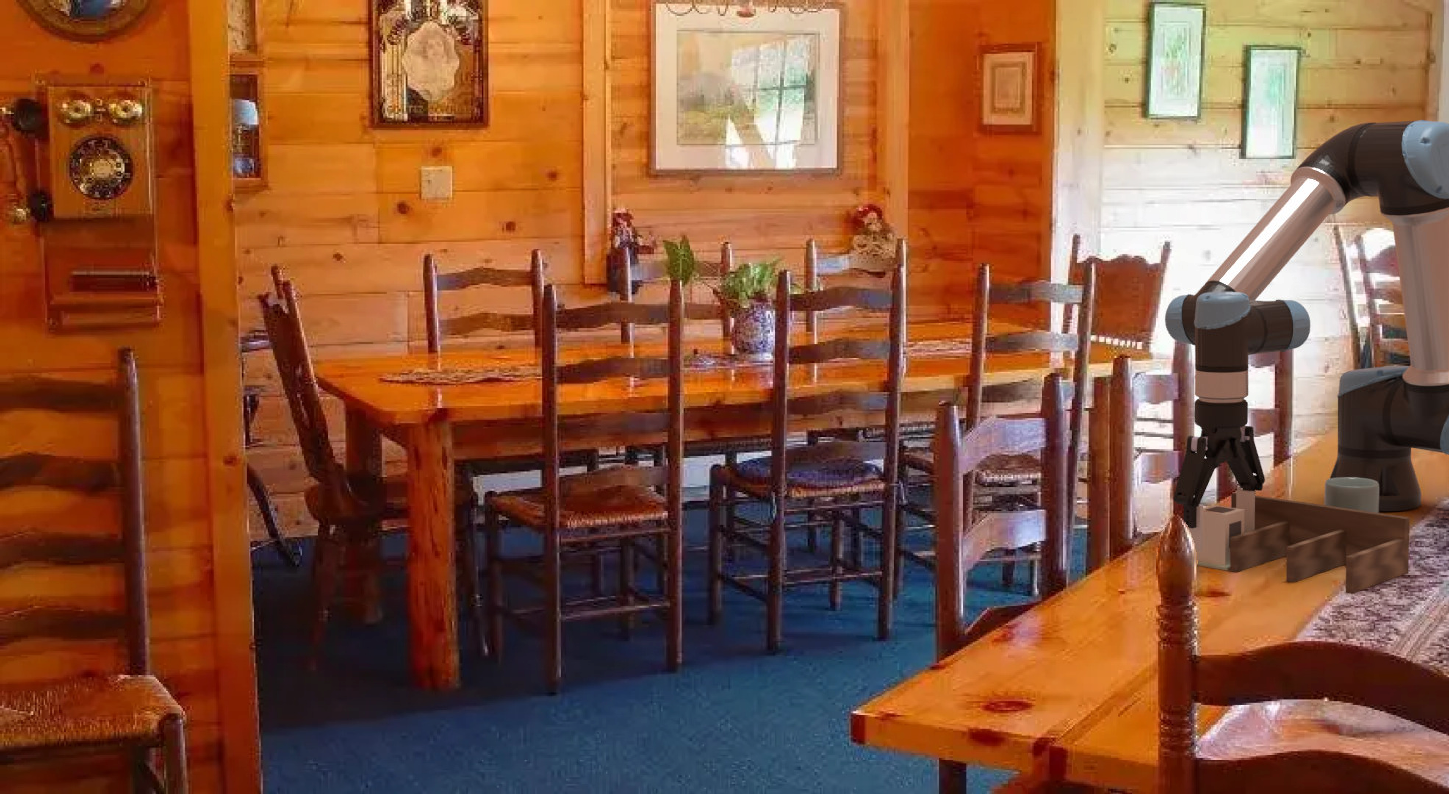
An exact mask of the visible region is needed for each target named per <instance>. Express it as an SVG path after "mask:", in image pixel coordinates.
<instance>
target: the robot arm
mask: <svg viewBox="0 0 1449 794" xmlns="http://www.w3.org/2000/svg"><path fill="white" fill-rule="evenodd" d="M1362 197H1370V198H1371V197H1373V198H1374V197H1375V198H1376V197H1377V199H1378V203H1379V211H1380V215H1382V216H1383V217H1385V218H1386V219H1388V220H1389V221H1390V222H1391V223H1392V231H1393V236H1394V246H1395V253H1396V261H1397V268H1398V275H1399V281H1400V291H1401V298H1402V306H1403V307H1402V308H1403V315H1404V321H1405V329H1406V330H1405V331H1406V336H1407V343H1408V344H1407V345H1408V352H1409V360H1410V365H1393V366H1382V367H1381V366H1380V367H1378V366H1377V367H1367V368H1359V369H1353V370H1348V371H1345V372H1344V373H1342V374H1341V376H1340V378H1339V383H1338V384H1339V386H1338V393H1337V395H1336V397H1337V457H1336V460H1335V463H1334V465H1333V469H1332V471H1331V473H1330V477H1329V479H1330V478H1339V477H1355V478H1367V479H1372V480H1375V481H1377V482H1378V483H1379V512H1398V511H1399V512H1400V511H1407V510H1414V509H1418V508H1419V507H1421V505H1422V491H1421V488H1420V484H1419V480H1418V477H1417V474H1416V471H1415V468H1414V465H1413V461H1412V449H1416V450H1423V451H1424V450H1425V451H1429V452H1436V453H1442V454H1444V455H1449V123H1448V122H1444V121H1431V120H1426V119H1425V120H1424V119H1420V120H1406V121H1404V120H1403V121H1388V122H1362V123H1359V124H1355V125H1352V126H1350V127H1348V128H1346V129H1344V130H1342V131H1340V132H1339V133H1337V134H1335V135H1333V136H1331V137H1330V138H1328V139H1327V140H1326V141H1325V142H1323V143H1321V144H1320V146H1318V147H1317V148H1316V149H1315V150H1313V151H1312V152H1311V153H1310V154H1309V155H1308V156H1307V157H1305V159H1304V160H1303V161H1302V162H1301V163H1300V164H1299V165H1298V167H1297V168H1296V169H1295V170H1294V171H1293V172H1292V174H1291V176H1290V185H1289V186H1288V187H1287V189H1286V190H1285V191H1284V192H1283V193H1282V194H1281V196H1279V198H1278V199H1277V200H1276V201H1275V203H1273V205H1272V206H1271V207H1270V208H1269V209H1268V210H1267V212H1266V213H1265V214H1264V215H1263V216H1262V217H1261V219H1260V220H1259V221H1258V222H1257V223H1256V224H1255V226H1254V227H1253V228H1252V229H1251V230H1250V231H1249V232H1248V233H1247V235H1246V236H1245V237H1244V238H1243V239H1242V241H1240V243H1239V244H1238V245H1237V246H1236V247H1235V248H1234V250H1233V251H1232V252H1231V253H1230V254H1229V255H1228V256H1227V257H1226V259H1225V260H1224V261H1223V262H1222V263H1221V265H1220V266H1219V267H1218V268H1217V269H1216V270H1215V272H1214V273H1213V274H1212V275H1211V276H1210V277H1209V278H1208V280H1206V282H1205V283H1204V284H1203V285H1202V286H1201V287H1200V289H1199V290H1197V292H1196V293H1195V294H1189V293H1188V294H1184V295H1179V296H1177V297H1174V298H1173V299H1172V300H1171V301H1170V302H1169V304H1168V306H1167V308H1166V311H1165V317H1164V322H1165V323H1164V324H1165V328H1166V330H1167V332H1168V334H1169V336H1170V337H1171V338H1172V339H1173V340H1174V341H1177V342H1179V343H1183V344H1188V345H1193V346H1194V361H1195V362H1194V370H1195V371H1194V372H1195V375H1194V395H1195V396H1196V397H1198V399H1196V400H1195V401H1194V403H1193V405H1194V410H1193V411H1194V417H1193V420H1194V424H1195V425H1196V426H1198V427H1200V429H1201V431H1200V432H1201V433H1200V436H1193V435H1189V436H1188V437H1187V438H1186V439H1187V440H1186V448H1185V449H1186V452H1185V456H1184V459H1183V462H1182V466H1181V468H1180V469H1181V470H1180V473H1179V477H1178V480H1177V485H1176V487H1175V491H1174V495H1173V501H1174V503H1176V504H1177V505H1182V506H1183V522H1184V521H1185V522H1186V524H1187V525H1188V527H1189V530H1190V532H1191V534H1192V538H1193V540H1194V543H1195V549H1196V550H1198V551H1201V550H1203V508H1204V505H1201V501H1202V499H1203V497H1204V494H1205V493H1206V491H1207V487H1208V486H1209V483H1210V481H1211V480H1212V479H1211V478H1212V477H1213V474H1214V471H1215V470H1217V469H1218V468H1219V467H1220V465H1221V464H1224V463H1225V462H1226V463H1227V465H1228V467H1229V469H1230V471H1231V473H1232V475H1233V476H1234V478H1235V481H1236V482H1237V484H1238V486H1239V489H1236V491H1235V493H1236V508H1237V509H1244V510H1245V512H1244V533H1247V532H1250V531H1253V530H1255V495H1256V491H1263V488H1264V484H1265V482H1266V479H1265V478H1266V477H1265V474H1264V471H1263V470H1264V469H1263V467H1262V464H1261V460H1260V457H1259V453H1258V450H1257V446H1256V443H1255V442H1256V441H1255V435H1254V433H1255V432H1254V430H1255V429H1254V427H1253V426H1251V425H1248V423H1249V422H1248V421H1249V416H1248V415H1249V403H1248V401H1247V400H1246V399H1245V398H1247V397H1248V396H1249V356H1251V355H1257V354H1258V355H1259V354H1268V353H1269V354H1270V353H1278V352H1280V353H1284V352H1286V351H1290V350H1294V349H1295V350H1296V349H1297V348H1300V347H1301V346H1303V345H1304V344H1305V343H1306V342H1307V340H1308V338H1309V336H1310V333H1311V319H1310V318H1311V317H1310V315H1309V312H1308V311H1307V309H1306V308H1305V306H1304V305H1302V304H1301V303H1300V302H1298V301H1296V300H1293V299H1275V300H1272V301H1271V300H1257V299H1258V298H1259V297H1260V295H1261V294H1262V293H1263V292H1264V290H1266V288H1267V287H1268V286H1269V285H1270V284H1271V282H1272V281H1273V280H1274V279H1275V278H1276V277H1277V276H1278V274H1279V273H1280V272H1281V271H1282V269H1284V268H1285V266H1286V265H1287V264H1288V262H1289V261H1290V260H1292V258H1293V257H1294V256H1295V255H1296V253H1298V251H1299V250H1300V249H1301V247H1302V246H1303V245H1304V244H1305V243H1306V242H1307V241H1308V240H1309V238H1310V237H1311V236H1312V235H1313V234H1314V232H1315V231H1316V230H1317V229H1318V228H1319V227H1320V225H1321V224H1322V223H1323V222H1324V221H1325V220H1326V219H1327V217H1328V216H1329V215H1335V214H1339V212H1341V211H1342V210H1343V209H1344V207H1345V206H1346V205H1347V204H1348V203H1350V202H1352V201H1353V200H1356V199H1358V198H1359V199H1360V198H1362Z"/></svg>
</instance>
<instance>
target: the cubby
mask: <svg viewBox="0 0 1449 794" xmlns="http://www.w3.org/2000/svg"><path fill="white" fill-rule="evenodd" d="M1230 497H1231V499H1230V502H1231V503H1230V505H1231V508H1236V492H1233V493H1231V494H1230ZM1410 520H1411V519H1410V517H1409V516H1408V517H1407V516H1402V515H1394V514H1389V513H1381V512H1379V513H1375V512H1368V511H1361V510H1354V509H1347V508H1340V507H1333V506H1326V505H1324V504H1317V503H1313V502H1312V503H1311V502H1304V501H1298V500H1297V501H1296V500H1290V499H1282V498H1276V497H1270V496H1263V495H1256V494H1255V530H1253V531H1250V532H1247V533H1243V534H1240V535H1237V536H1233V537H1231V539H1230V570H1229V572H1232V571H1233V573H1238V572H1237V571H1239V572H1241V571H1245V570H1247V568H1248V569H1250V568H1253V566H1254V567H1256V566H1260V565H1262V564H1261V563H1263V564H1266V563H1269V562H1272V561H1274V560H1278V559H1281V558H1284V557H1286V569H1285V571H1286V572H1285V574H1286V575H1285V577H1286V580H1285V581H1286V582H1288V583H1295V582H1298V581H1301V580H1304V579H1307V578H1310V577H1313V576H1316V575H1318V574H1320V573H1321V574H1322V573H1324V572H1327V571H1329V570H1333V569H1336V568H1338V567H1341V566H1344V565H1345V593H1349V594H1354V593H1357V592H1360V591H1363V590H1366V589H1367V588H1370V587H1373V586H1376V585H1378V584H1381V583H1384V582H1387V581H1389V580H1393V579H1395V578H1397V577H1401V576H1402V575H1405V574H1408V573H1409V566H1410V565H1409V563H1410V562H1409V560H1410V559H1409V558H1410V557H1409V556H1410V555H1409V554H1410V553H1409V552H1410V525H1411V524H1410V523H1411V521H1410ZM1271 560H1272V561H1271ZM1265 562H1266V563H1265ZM1259 564H1260V565H1259ZM1332 568H1333V569H1332ZM1244 569H1245V570H1244Z"/></svg>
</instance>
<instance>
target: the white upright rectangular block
mask: <svg viewBox="0 0 1449 794" xmlns="http://www.w3.org/2000/svg"><path fill="white" fill-rule="evenodd" d="M1244 512H1245V510H1244V509H1237V508H1231V507H1230V506H1224V505H1223V506H1222V505H1217V504H1215V505H1213V504H1212V505H1210V506H1207V507H1203V550H1201V551H1198V550H1196V552H1197V560H1198V561H1203V562H1208V563H1214V564H1219V565H1228V564H1230V539H1231V537H1233V536H1237V535H1240V534H1243V533H1244Z"/></svg>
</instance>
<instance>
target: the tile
mask: <svg viewBox="0 0 1449 794" xmlns="http://www.w3.org/2000/svg"><path fill="white" fill-rule="evenodd" d="M1197 566H1198V567H1199V566H1200V567H1206V568H1211V569H1215V570H1222V571H1230V564H1228V565H1219V564H1214V563H1208V562H1203V561H1198V565H1197Z"/></svg>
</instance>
